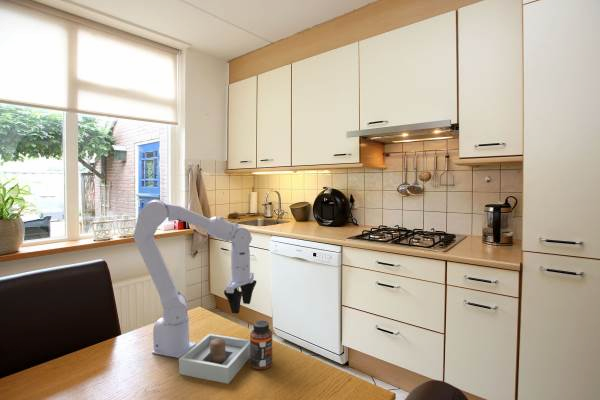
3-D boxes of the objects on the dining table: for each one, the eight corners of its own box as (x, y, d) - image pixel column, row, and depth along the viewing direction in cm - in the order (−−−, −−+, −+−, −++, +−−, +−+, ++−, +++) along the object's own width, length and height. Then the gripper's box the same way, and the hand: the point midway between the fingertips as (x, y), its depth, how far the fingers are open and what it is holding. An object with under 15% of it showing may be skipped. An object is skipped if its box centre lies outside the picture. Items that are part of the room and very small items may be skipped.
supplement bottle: (268, 372, 83) (268, 329, 83) (246, 369, 85) (246, 327, 84) (275, 359, 89) (274, 319, 89) (254, 357, 90) (254, 317, 90)
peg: (207, 366, 86) (206, 344, 86) (215, 358, 90) (215, 337, 89) (220, 369, 85) (220, 347, 84) (228, 360, 89) (228, 339, 88)
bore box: (179, 374, 83) (178, 358, 82) (209, 346, 96) (209, 333, 96) (228, 383, 79) (227, 368, 78) (252, 353, 92) (252, 340, 92)
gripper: (241, 272, 92) (242, 319, 93) (261, 260, 106) (262, 300, 107) (219, 270, 94) (220, 316, 95) (242, 259, 108) (243, 298, 109)
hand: (241, 308), depth 101 cm, fingers open, 7 cm apart
